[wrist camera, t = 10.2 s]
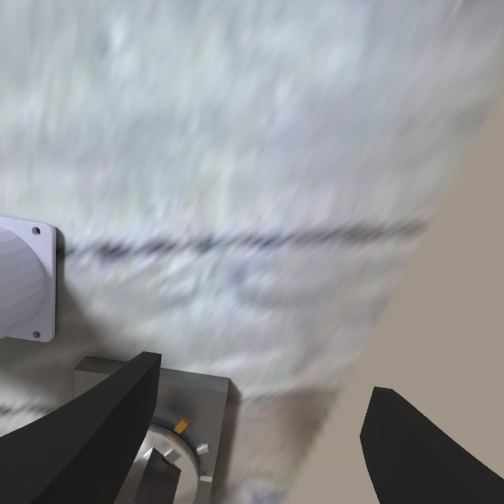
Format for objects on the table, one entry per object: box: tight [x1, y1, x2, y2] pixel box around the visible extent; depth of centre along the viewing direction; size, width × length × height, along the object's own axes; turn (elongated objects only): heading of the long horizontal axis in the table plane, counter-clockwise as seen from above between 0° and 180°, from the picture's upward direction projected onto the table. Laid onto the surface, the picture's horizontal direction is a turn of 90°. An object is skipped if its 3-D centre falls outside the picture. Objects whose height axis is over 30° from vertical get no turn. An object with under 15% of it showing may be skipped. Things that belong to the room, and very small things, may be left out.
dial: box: [114, 424, 199, 504], centre depth 20 cm, size 8×8×4 cm
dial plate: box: [73, 357, 229, 504], centre depth 23 cm, size 10×14×2 cm
